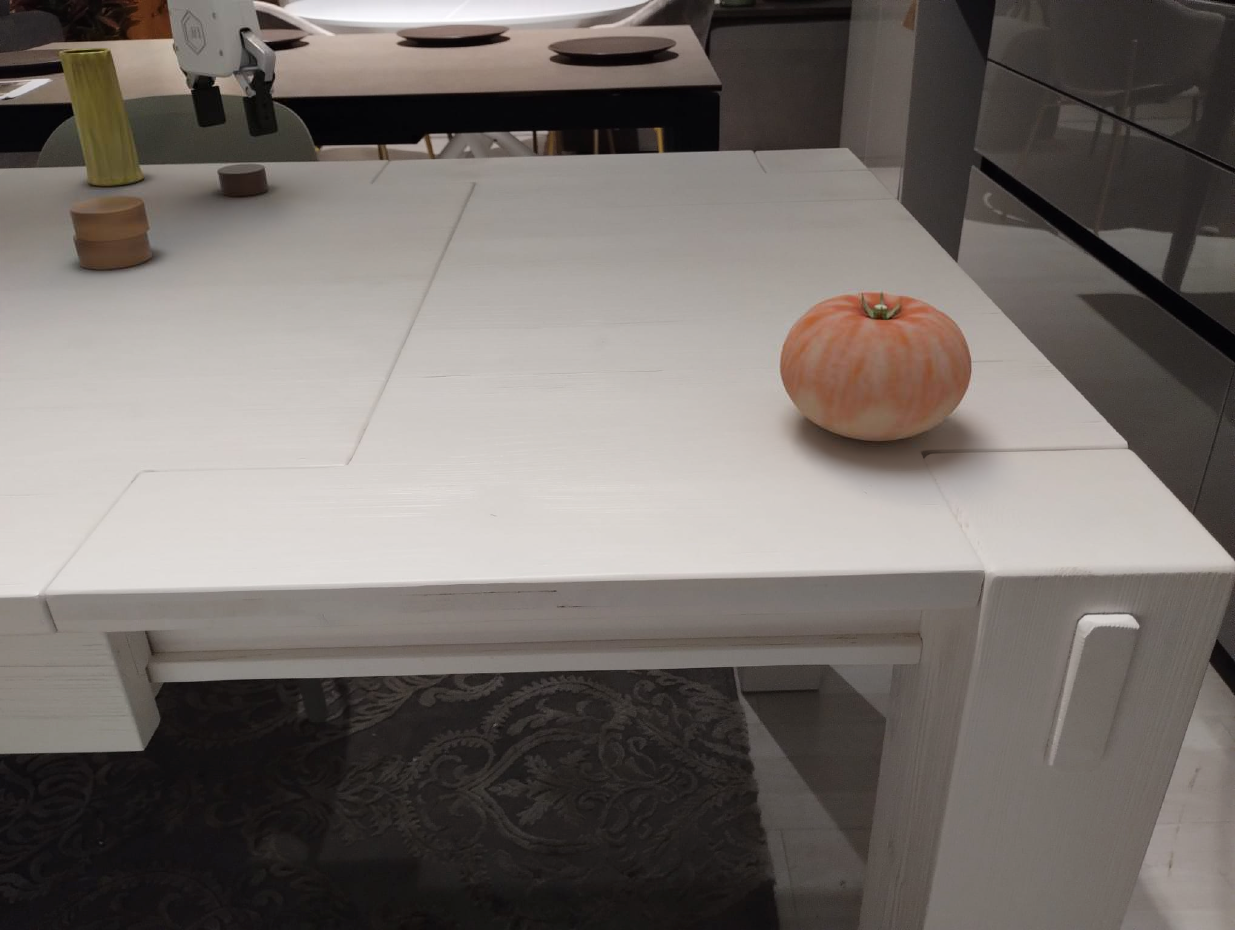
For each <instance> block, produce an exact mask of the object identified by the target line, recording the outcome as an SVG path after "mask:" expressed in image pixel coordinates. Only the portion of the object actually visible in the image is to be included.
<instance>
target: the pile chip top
mask: <svg viewBox="0 0 1235 930" xmlns="http://www.w3.org/2000/svg"><path fill="white" fill-rule="evenodd" d="M68 211H69V214H70V219H71V222H72V225H73V229H74V234H76V237H77V238H78V239H80V240H83V241H89V242H107V241H117V240H123V239H128V238H132V237H136V236H139V235H142V234H144V233H146V232H147V233H148V231H150V224H149V219H148V215H147V210H146V207H145V203H144V200H143V199H142V198H141V197H136V196H129V195H128V196H127V195H123V196H122V195H117V196H116V195H115V196H103V197H96V198H91V199H86V200H83V201H79V202H77V203H74V204H72V205H71V206H69V208H68Z"/></svg>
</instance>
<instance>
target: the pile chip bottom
mask: <svg viewBox="0 0 1235 930" xmlns="http://www.w3.org/2000/svg"><path fill="white" fill-rule="evenodd" d="M72 239H73V243H74V247H75V250H76V254H77V258H78V261H79V264H80V267H82V268H83V269H88V270H97V271H104V270H105V271H107V270H117V269H118V270H119V269H124V268H129V267H134V266H137V265H140V264H142V263H146V262H147V261H149V260H150V259H151V258H153V252H152V248H151V243H150V239H149V236H148V231H147V232H146V233H144V234H142V235H139V236H136V237H132V238H128V239H123V240H117V241H107V242H89V241H83V240H80V239H78V238H77V237H76V233H74V234H73V236H72Z"/></svg>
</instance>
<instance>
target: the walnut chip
mask: <svg viewBox="0 0 1235 930" xmlns="http://www.w3.org/2000/svg"><path fill="white" fill-rule="evenodd" d="M217 176H218V182H219V186H220V191H221V194H222V195H224V196H225V197H236V198H237V197H238V198H239V197H240V198H241V197H252V196H256V195H261V194H264V193H266V192H268V191H269V185H268V184H269V183H268V178H267V173H266V167H265V166H264V165H262V164H259V163H258V164H257V163H240V164H239V163H237V164H231V165H226V166H223V167H220V168H218V169H217Z"/></svg>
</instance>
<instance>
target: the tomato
mask: <svg viewBox="0 0 1235 930" xmlns="http://www.w3.org/2000/svg"><path fill="white" fill-rule="evenodd" d="M972 371H973V369H972V357H971V352H970V348H969V345H968V342H967V339H966V337H965V335H964V334H963V332H962V330H961V328H960V327H959V325H958V324H957V322H956V321H955V320H953V319H952V318H951V317H950V316H949V315H948V314H947V313H944V312H943V311H941V310H939V309H937V308H936V307H935V306H933V305H931V304H929V303H927V302H925V301H922V300H920V299H916V298H914V297H911V296H905V295H896V294H895V295H894V294H890V293H885V292H883V291H880V292H872V291H871V292H860V293H854V294H853V293H852V294H841V295H837V296H835V297H834V296H833V297H831V298H828V299H825V300H822V301H820V302H818V303H817V304H815V305H813V306H811V307H810V308H809V309H808V310H807V311H806V312H805V313H804V314H803V315H802V316H800V317H799V318H798V319H797V320H796V321H795V322H794V324H793V325H792V326H791V328H790V329H789V331H788V333H787V335H786V337H785V339H784V341H783V344H782V349H781V353H780V359H779V372H780V373H779V374H780V377H781V381H782V385H783V387H784V390H785V391H786V393H787V395H788V397H789V398H790V400H791V402H792V403H793V405H794V406H795V407H796V408H797V409H798V411H800V412H801V414H802V415H803V416H805V417H806V418H807V419H808V420H809V421H811V422H813V423H814V424H816V425H818V426H819V427H821V428H822V429H824V430H827V431H829V432H830V433H833V434H836V435H839V436H842V437H845V438H850V439H854V440H861V441H868V442H887V441H888V442H889V441H896V440H901V439H906V438H912V437H914V436H918V435H920V434H923V433H925V432H927V431H930V430H931V429H933V428H935V427H937V426H938V425H940V424H941V423H942V422H944V421H945V420H947V419H948V417H949V416H951V414H952V413H953V412H954V411H955V410H956V409H957V408H958V406H959V405H960V404H961V402H962V400H963V399H964V397H965V395H966V393H967V392H968V389H969V385H970V382H971V377H972Z"/></svg>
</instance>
